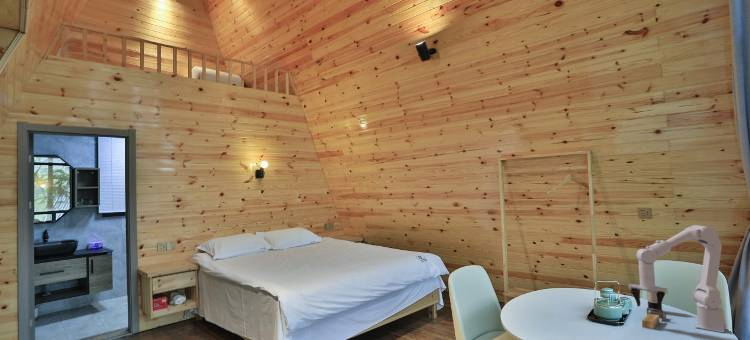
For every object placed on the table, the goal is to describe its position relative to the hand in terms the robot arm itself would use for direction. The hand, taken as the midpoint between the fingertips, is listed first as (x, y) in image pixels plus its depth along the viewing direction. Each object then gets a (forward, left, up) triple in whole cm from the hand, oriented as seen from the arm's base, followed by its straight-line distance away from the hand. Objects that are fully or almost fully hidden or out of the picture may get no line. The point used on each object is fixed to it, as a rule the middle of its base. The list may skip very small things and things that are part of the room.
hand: (648, 307), depth 184 cm
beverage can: (+3, -26, -9) cm, 27 cm away
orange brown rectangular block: (0, -3, -9) cm, 9 cm away
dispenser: (0, -14, -8) cm, 16 cm away
